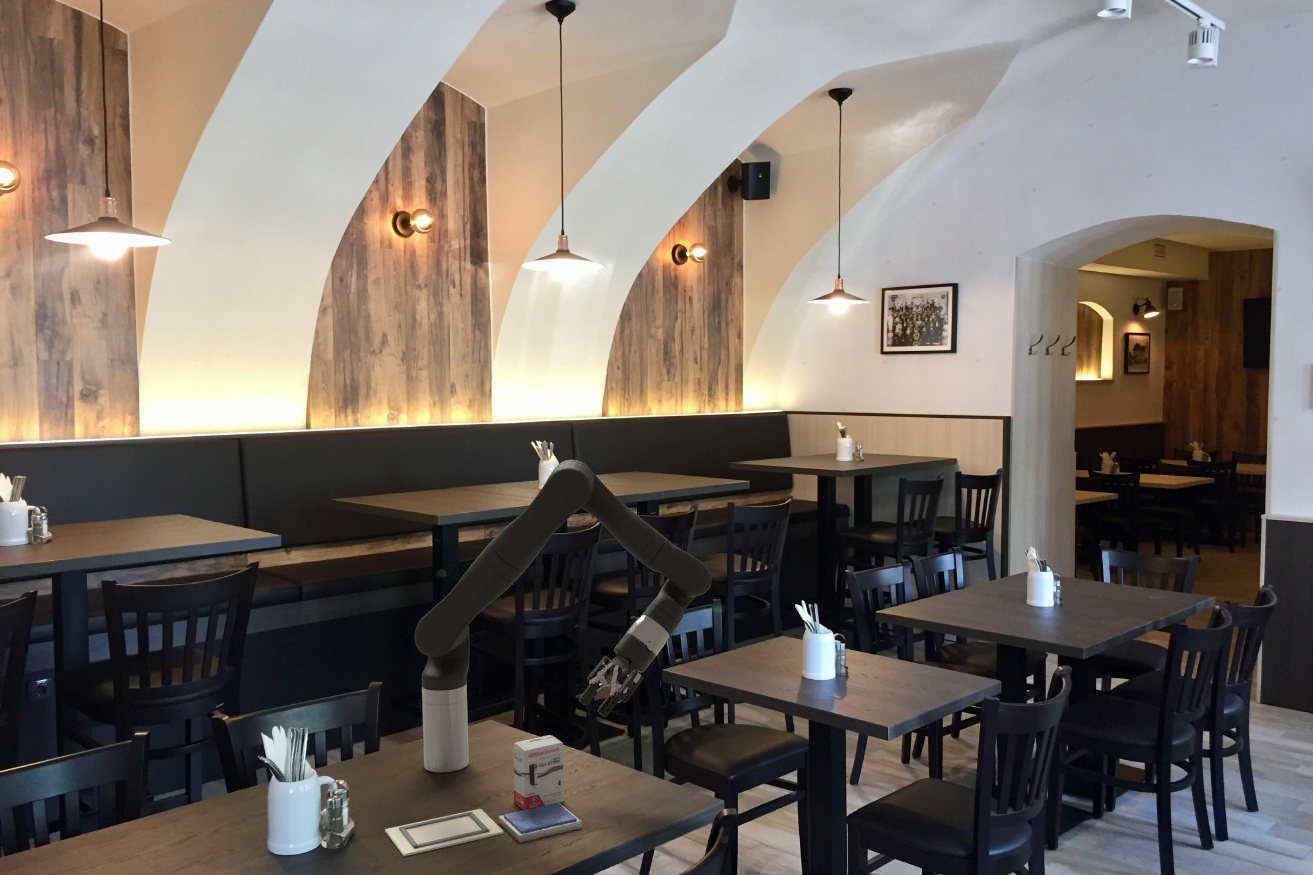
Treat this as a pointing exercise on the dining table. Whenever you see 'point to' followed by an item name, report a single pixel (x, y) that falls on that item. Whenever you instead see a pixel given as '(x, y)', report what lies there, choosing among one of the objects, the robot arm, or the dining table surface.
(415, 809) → the dining table surface
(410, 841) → the sheet
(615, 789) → the dining table surface
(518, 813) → the ink pad
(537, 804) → the ink box
